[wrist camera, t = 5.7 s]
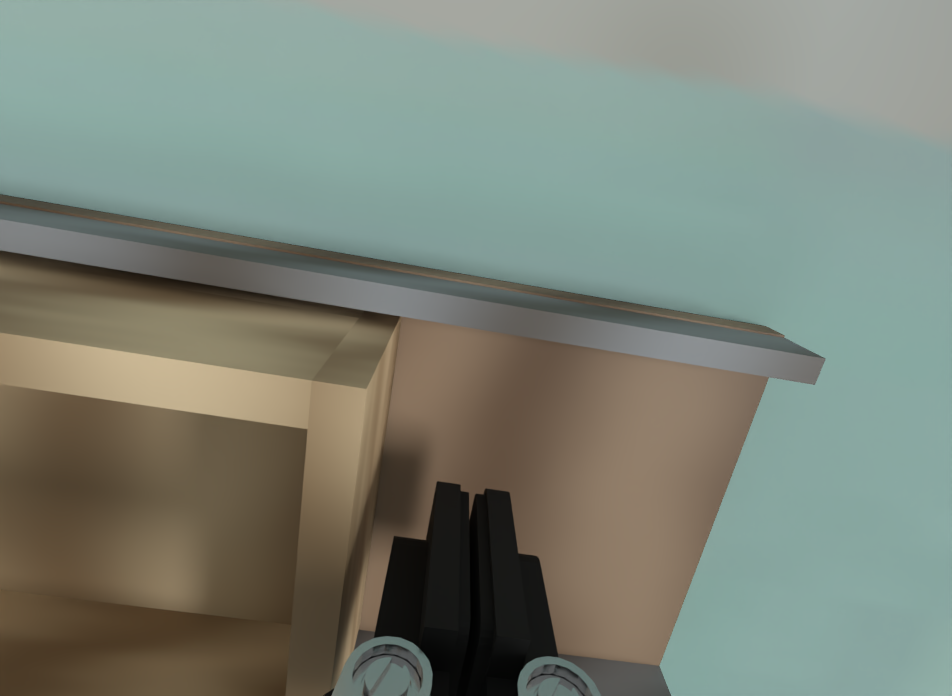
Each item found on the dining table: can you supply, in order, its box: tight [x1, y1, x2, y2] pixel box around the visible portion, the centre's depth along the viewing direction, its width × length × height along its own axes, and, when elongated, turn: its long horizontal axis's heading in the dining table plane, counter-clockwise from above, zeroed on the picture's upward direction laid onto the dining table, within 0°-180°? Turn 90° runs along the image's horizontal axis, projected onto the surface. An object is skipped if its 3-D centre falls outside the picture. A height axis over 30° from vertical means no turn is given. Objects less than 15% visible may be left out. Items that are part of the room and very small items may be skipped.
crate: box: [0, 250, 402, 696], centre depth 11 cm, size 13×9×4 cm
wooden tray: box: [0, 194, 825, 696], centre depth 12 cm, size 24×11×4 cm, turn 80°
